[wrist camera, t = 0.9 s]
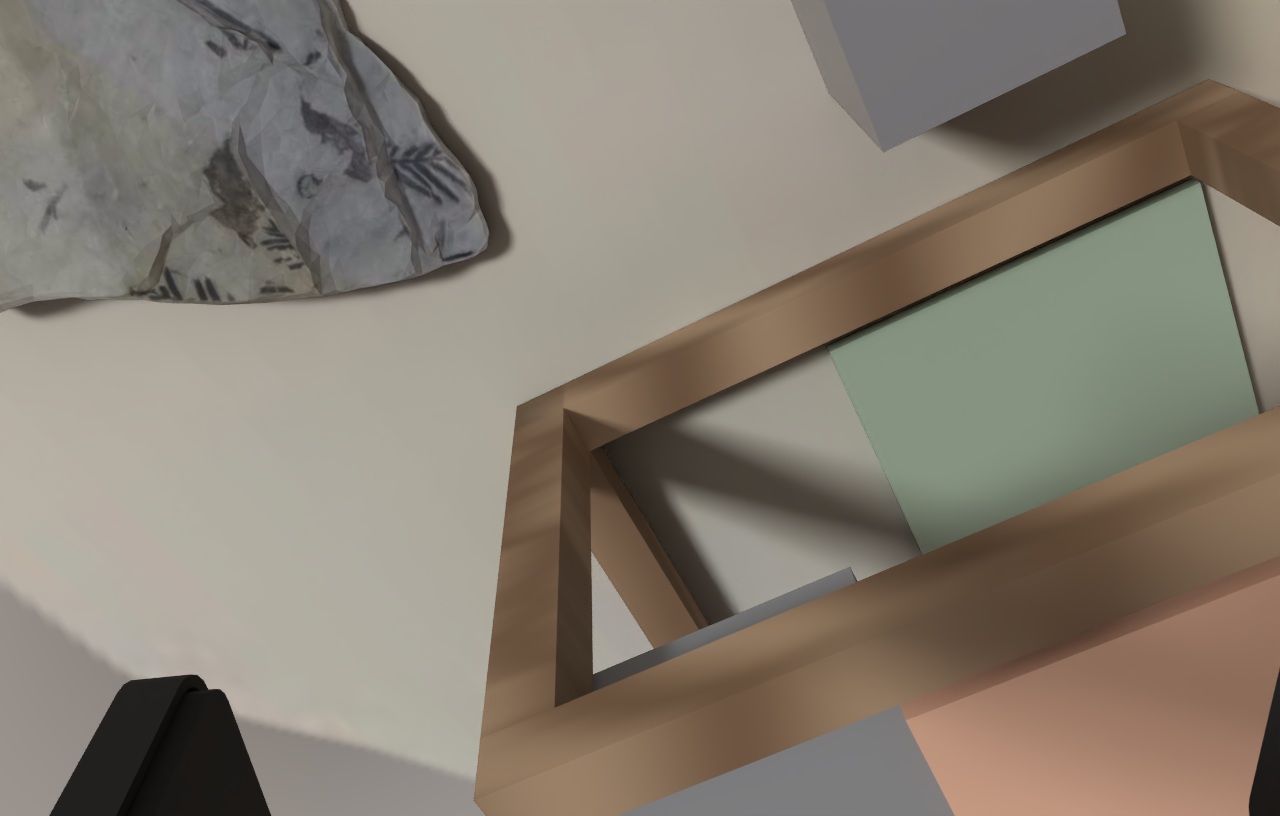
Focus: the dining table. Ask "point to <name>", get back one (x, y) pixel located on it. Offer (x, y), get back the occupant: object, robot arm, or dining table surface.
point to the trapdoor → (1035, 722)
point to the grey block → (942, 53)
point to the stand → (890, 600)
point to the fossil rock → (214, 156)
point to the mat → (1052, 370)
